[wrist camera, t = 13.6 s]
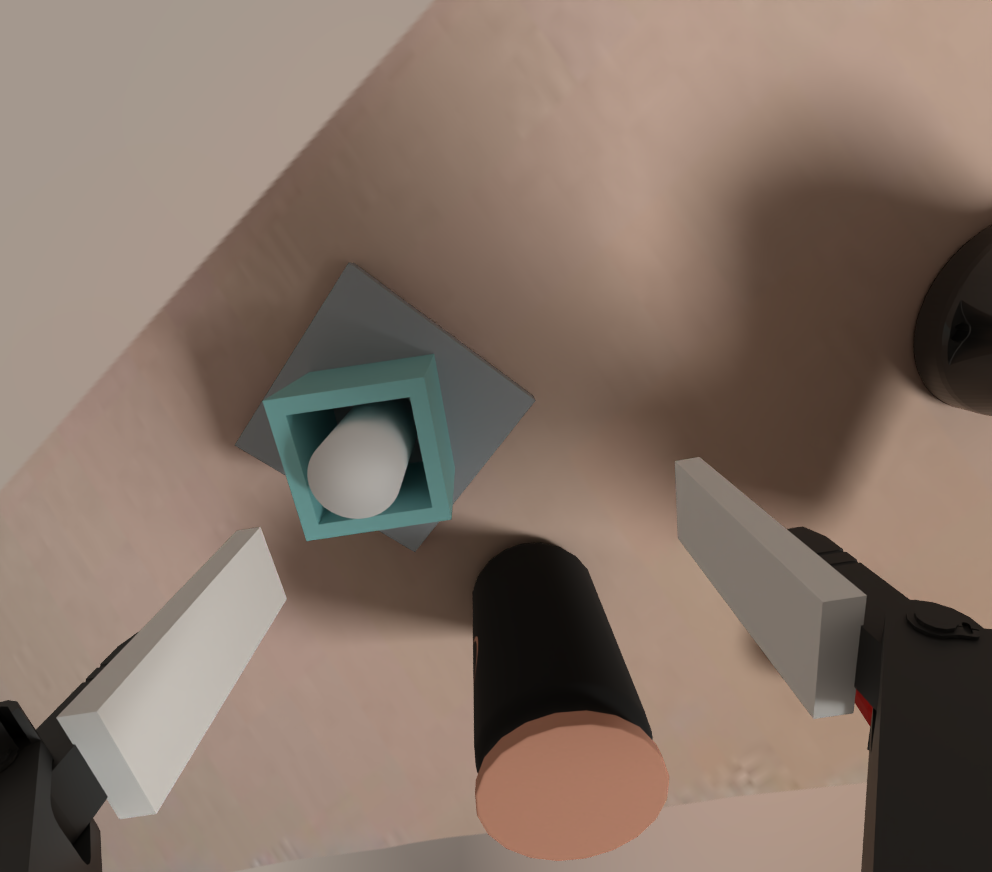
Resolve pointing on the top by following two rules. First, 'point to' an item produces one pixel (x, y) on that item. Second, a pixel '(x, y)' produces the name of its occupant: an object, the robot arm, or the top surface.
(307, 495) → the teal storage bin
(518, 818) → the coffee jar
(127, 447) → the top surface
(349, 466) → the grey square base plate
